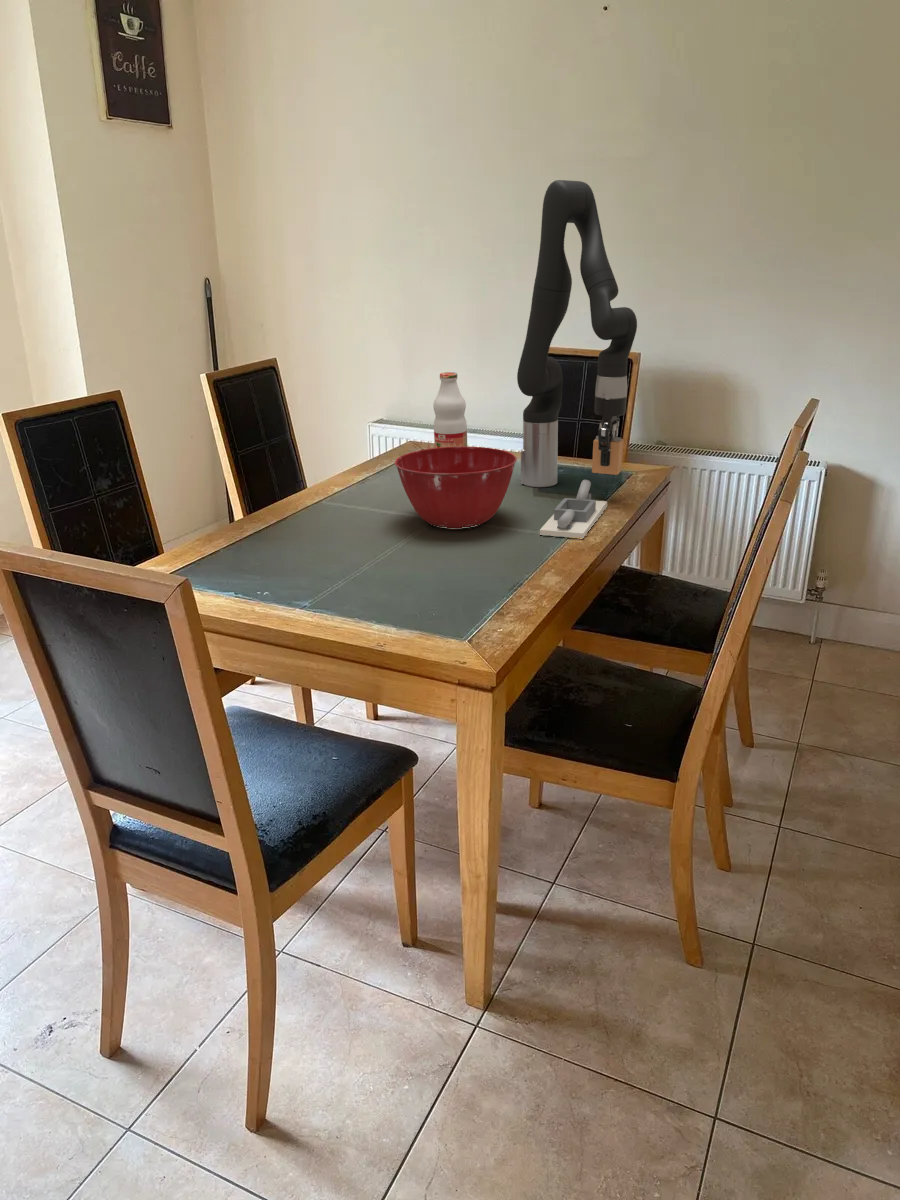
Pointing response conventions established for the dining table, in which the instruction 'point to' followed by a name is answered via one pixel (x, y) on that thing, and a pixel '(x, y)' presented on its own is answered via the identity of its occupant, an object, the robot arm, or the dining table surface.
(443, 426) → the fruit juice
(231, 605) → the dining table surface
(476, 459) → the mixing bowl
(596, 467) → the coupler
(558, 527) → the shaft rig
